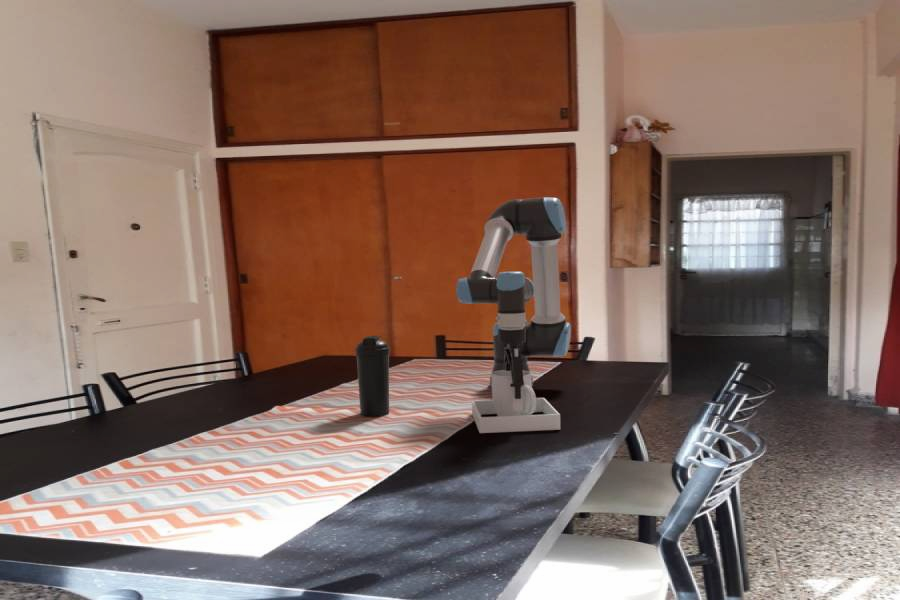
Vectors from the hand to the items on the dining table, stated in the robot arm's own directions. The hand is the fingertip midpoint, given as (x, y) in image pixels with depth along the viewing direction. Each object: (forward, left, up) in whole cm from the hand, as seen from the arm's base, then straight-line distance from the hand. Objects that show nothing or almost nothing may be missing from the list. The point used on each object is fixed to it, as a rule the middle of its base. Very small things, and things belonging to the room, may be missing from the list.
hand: (513, 404), depth 189 cm
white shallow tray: (0, 0, -5) cm, 5 cm away
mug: (0, 0, -5) cm, 5 cm away
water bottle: (-17, -39, -5) cm, 43 cm away
